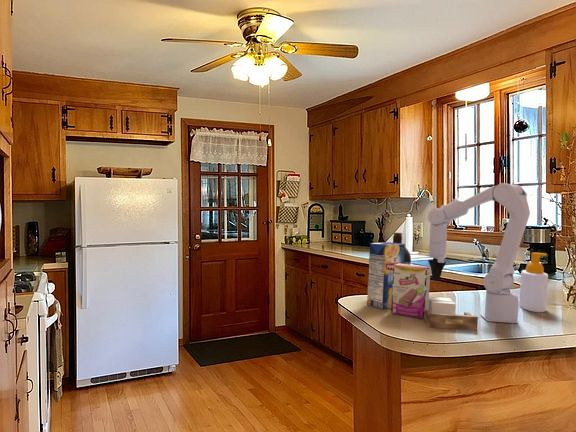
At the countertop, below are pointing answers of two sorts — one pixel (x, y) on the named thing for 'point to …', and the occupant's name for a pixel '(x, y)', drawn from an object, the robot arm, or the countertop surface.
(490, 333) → the countertop surface
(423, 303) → the candy bar box
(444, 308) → the carton
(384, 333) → the countertop surface
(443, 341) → the countertop surface
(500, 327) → the countertop surface
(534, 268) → the soap bottle
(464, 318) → the display stand
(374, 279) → the beverage box
